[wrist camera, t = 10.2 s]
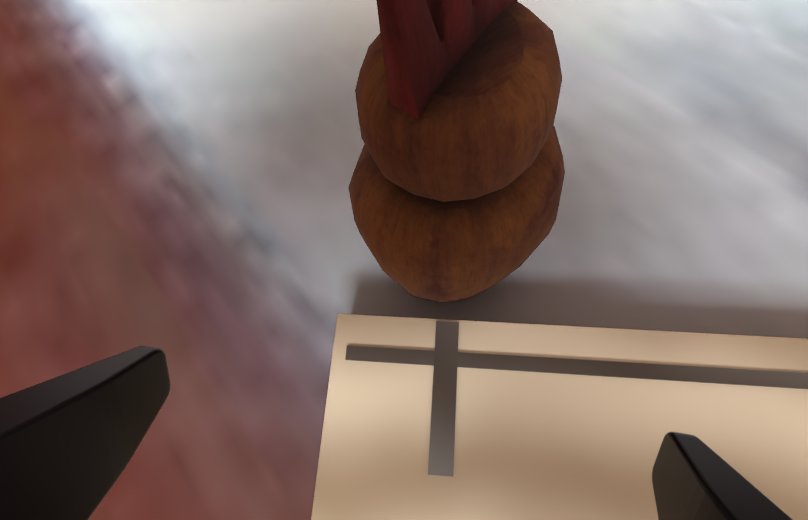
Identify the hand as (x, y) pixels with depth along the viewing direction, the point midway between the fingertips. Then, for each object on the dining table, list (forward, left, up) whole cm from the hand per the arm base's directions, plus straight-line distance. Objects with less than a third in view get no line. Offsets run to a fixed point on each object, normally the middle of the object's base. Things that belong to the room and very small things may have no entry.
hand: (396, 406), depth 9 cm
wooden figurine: (+7, -1, -10) cm, 13 cm away
